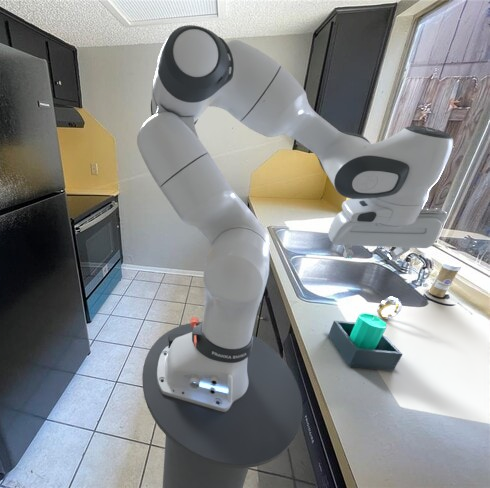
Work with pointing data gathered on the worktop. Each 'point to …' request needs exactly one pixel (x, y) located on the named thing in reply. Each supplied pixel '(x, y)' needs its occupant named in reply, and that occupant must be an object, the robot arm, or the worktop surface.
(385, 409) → the worktop surface
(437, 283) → the sprinkles bottle
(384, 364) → the bin
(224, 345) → the robot arm
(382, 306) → the ring
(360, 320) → the candle
